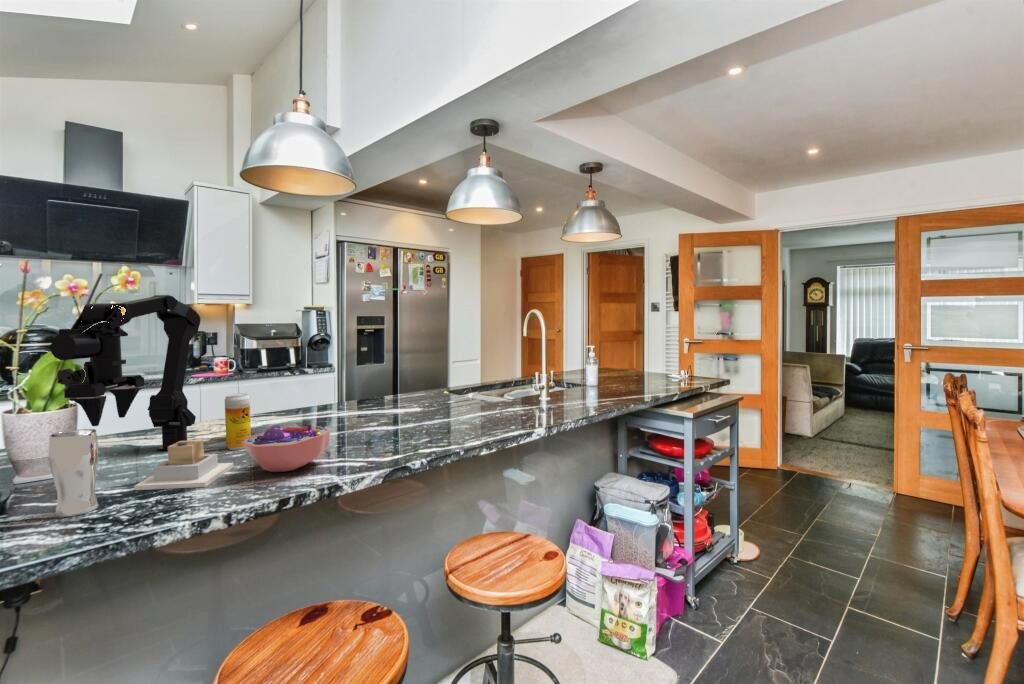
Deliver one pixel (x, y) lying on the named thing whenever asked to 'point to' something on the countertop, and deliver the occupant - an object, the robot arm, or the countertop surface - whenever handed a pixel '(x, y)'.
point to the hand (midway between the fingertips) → (109, 421)
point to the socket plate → (185, 474)
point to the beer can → (237, 420)
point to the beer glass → (74, 470)
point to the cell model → (287, 447)
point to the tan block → (186, 452)
